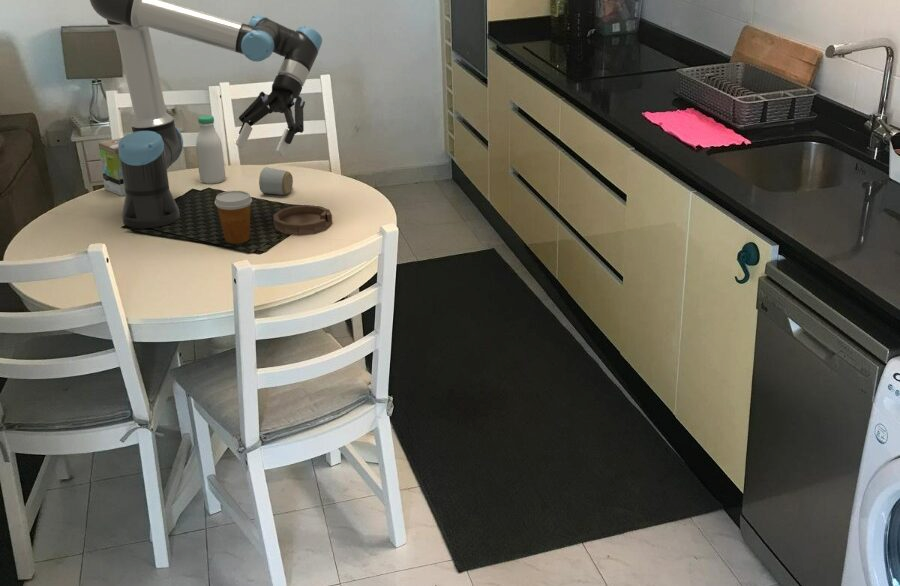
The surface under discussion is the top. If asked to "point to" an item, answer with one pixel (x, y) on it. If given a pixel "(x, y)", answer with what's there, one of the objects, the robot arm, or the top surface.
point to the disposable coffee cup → (234, 215)
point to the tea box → (111, 166)
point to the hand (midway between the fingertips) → (259, 150)
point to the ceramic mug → (275, 181)
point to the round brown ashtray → (302, 220)
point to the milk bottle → (209, 152)
